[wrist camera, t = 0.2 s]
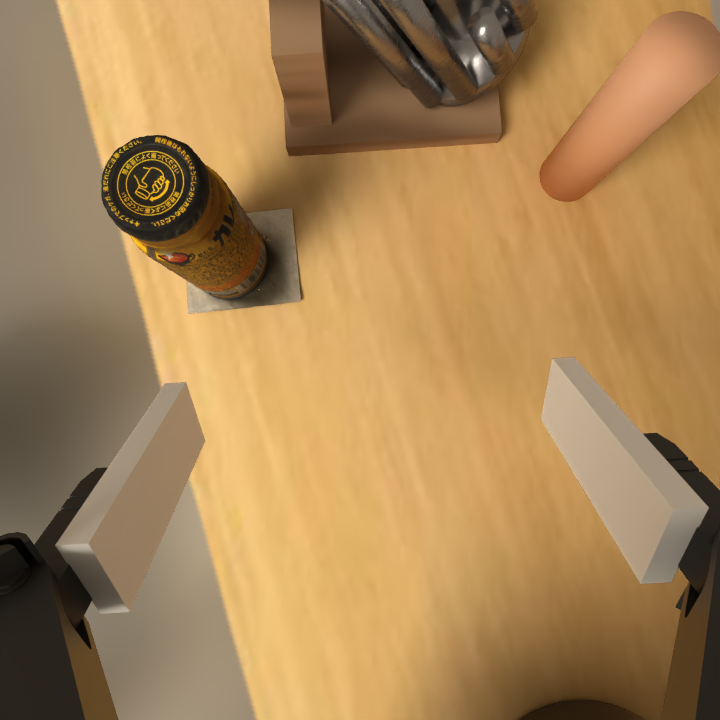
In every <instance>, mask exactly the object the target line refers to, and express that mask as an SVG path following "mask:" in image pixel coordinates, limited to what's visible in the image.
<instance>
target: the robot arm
mask: <svg viewBox="0 0 720 720" xmlns="http://www.w3.org/2000/svg"><path fill="white" fill-rule="evenodd" d="M541 421H542V422H543V424H544V426H545V427H546V429H547V431H548V432H549V434H550V436H551V437H552V439H553V441H554V442H555V444H556V445H557V447H558V449H559V450H560V452H561V454H562V455H563V457H564V459H565V460H566V462H567V464H568V465H569V467H570V469H571V470H572V472H573V473H574V475H575V477H576V478H577V480H578V482H579V483H580V485H581V487H582V488H583V490H584V492H585V493H586V495H587V497H588V498H589V500H590V501H591V503H592V505H593V506H594V508H595V510H596V511H597V513H598V515H599V516H600V518H601V520H602V521H603V523H604V525H605V526H606V528H607V529H608V531H609V533H610V534H611V536H612V538H613V539H614V541H615V543H616V544H617V546H618V548H619V549H620V551H621V553H622V554H623V556H624V557H625V559H626V561H627V562H628V564H629V566H630V567H631V569H632V571H633V572H634V574H635V576H636V577H637V579H638V581H639V582H640V584H649V583H667V582H672V580H673V578H674V576H675V574H676V572H677V570H678V568H680V570H681V571H682V572H683V574H684V575H685V577H686V578H687V579H688V581H689V583H688V585H687V587H686V589H685V590H684V592H683V594H682V596H681V598H680V600H679V601H678V603H677V605H676V608H678V609H680V610H681V614H680V619H679V625H678V630H677V635H676V641H675V646H674V652H673V657H672V663H671V668H670V673H669V679H668V684H667V690H666V695H665V701H664V706H663V711H662V717H661V720H720V491H719V489H718V488H717V487H716V486H715V485H714V484H713V483H712V482H711V481H710V480H709V479H708V478H707V477H706V476H705V475H704V474H703V473H702V472H699V469H698V468H697V467H696V466H695V465H694V464H693V462H692V461H689V460H688V457H687V456H686V455H685V454H684V453H683V452H682V451H681V450H680V449H679V448H678V447H677V446H676V445H675V444H674V443H672V442H670V441H669V440H667V439H666V438H664V437H662V436H661V435H659V434H658V433H647V434H643V433H642V432H641V431H640V430H639V429H638V428H637V427H636V426H635V425H634V423H633V422H632V421H631V420H630V419H629V418H628V417H627V416H626V414H625V413H624V412H623V411H622V410H621V409H620V408H619V407H618V406H617V404H616V403H615V402H614V401H613V400H612V399H611V398H610V397H609V395H608V394H607V393H606V392H605V391H604V390H603V389H602V388H601V386H600V385H599V384H598V383H597V382H596V381H595V380H594V379H593V378H592V376H591V375H590V374H589V373H588V372H587V371H586V370H585V369H584V367H583V366H582V365H581V364H580V363H579V362H578V361H577V360H576V359H575V357H567V358H552V363H551V368H550V374H549V379H548V384H547V390H546V395H545V401H544V406H543V411H542V417H541ZM204 442H205V439H204V436H203V433H202V429H201V426H200V423H199V420H198V417H197V414H196V411H195V408H194V405H193V402H192V399H191V396H190V393H189V390H188V387H187V384H186V382H182V383H167V384H164V386H163V387H162V389H161V390H160V392H159V394H158V395H157V396H156V398H155V399H154V401H153V402H152V404H151V405H150V407H149V408H148V409H147V411H146V413H145V414H144V415H143V417H142V418H141V420H140V421H139V423H138V424H137V426H136V427H135V429H134V430H133V432H132V433H131V435H130V436H129V438H128V439H127V440H126V442H125V443H124V445H123V446H122V448H121V449H120V451H119V452H118V454H117V455H116V457H115V458H114V460H113V461H112V462H111V464H110V465H109V467H108V468H96V469H95V470H94V471H93V472H91V473H90V474H89V475H88V476H86V477H85V478H84V479H83V480H82V481H80V483H79V484H78V486H77V487H76V488H75V490H74V491H73V492H72V494H71V495H70V499H67V501H66V502H65V503H64V505H63V506H62V508H61V511H59V512H58V513H57V514H56V516H55V517H54V519H53V520H52V521H51V523H50V524H49V525H48V527H47V528H46V530H45V531H44V532H43V534H42V535H41V536H40V538H39V539H38V541H37V542H36V543H35V545H34V544H33V543H32V542H31V540H30V539H29V537H28V536H27V535H26V534H23V533H19V532H16V533H9V534H5V535H2V536H0V720H118V717H117V714H116V711H115V707H114V704H113V701H112V697H111V694H110V691H109V688H108V685H107V681H106V678H105V675H104V672H103V668H102V665H101V662H100V658H99V655H98V652H97V649H96V646H95V642H94V639H93V635H92V633H91V629H90V626H89V622H88V621H87V619H86V618H85V617H84V614H85V612H86V611H87V609H88V607H89V605H90V603H91V601H93V603H94V605H95V606H96V607H97V609H98V611H99V612H100V613H116V612H130V609H131V607H132V605H133V603H134V601H135V598H136V596H137V594H138V591H139V589H140V587H141V585H142V582H143V580H144V578H145V575H146V573H147V571H148V569H149V567H150V564H151V562H152V559H153V557H154V555H155V553H156V551H157V548H158V546H159V544H160V542H161V539H162V537H163V535H164V533H165V530H166V528H167V526H168V524H169V521H170V519H171V517H172V514H173V512H174V510H175V508H176V505H177V503H178V501H179V499H180V496H181V494H182V492H183V489H184V487H185V485H186V483H187V481H188V478H189V476H190V474H191V472H192V469H193V467H194V465H195V463H196V460H197V458H198V456H199V453H200V451H201V449H202V447H203V444H204ZM522 720H643V719H642V718H640V717H638V716H637V715H635V714H633V713H631V712H629V711H627V710H625V709H622V708H620V707H617V706H614V705H610V704H606V703H602V702H596V701H567V702H561V703H557V704H553V705H550V706H547V707H544V708H542V709H539V710H537V711H535V712H533V713H531V714H529V715H528V716H526V717H525V718H523V719H522Z"/></svg>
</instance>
